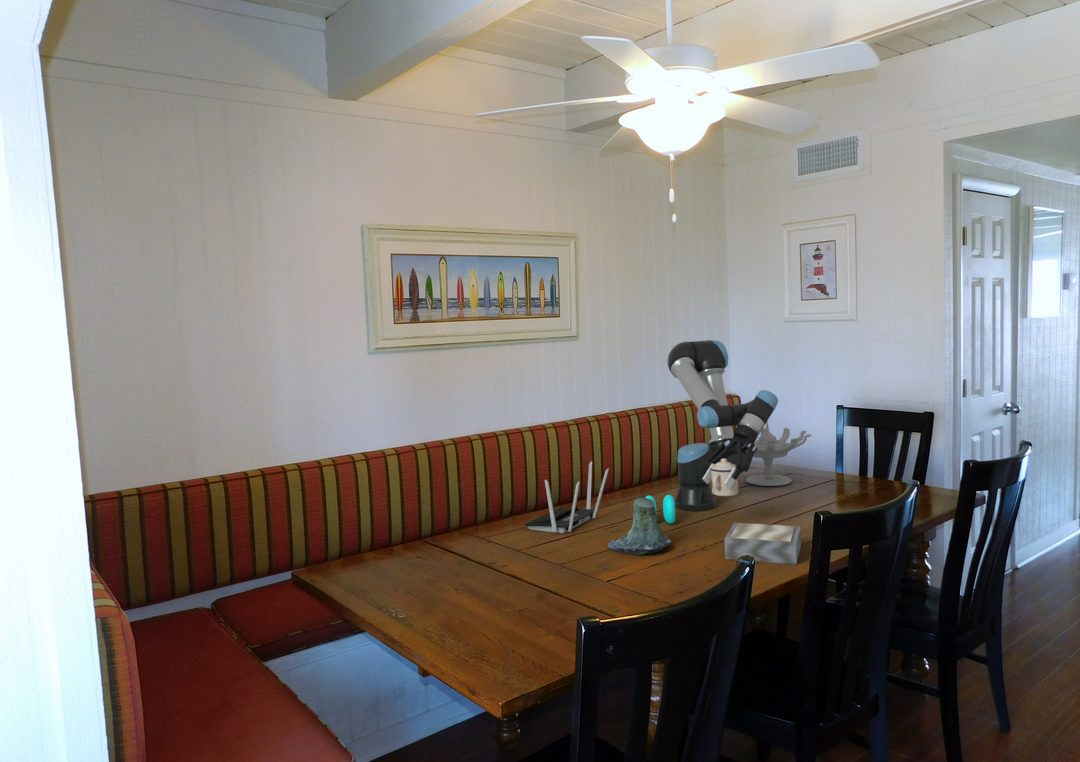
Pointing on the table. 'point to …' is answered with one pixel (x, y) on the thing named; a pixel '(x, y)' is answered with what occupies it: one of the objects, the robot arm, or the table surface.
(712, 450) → the robot arm
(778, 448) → the candelabra
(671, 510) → the donuts
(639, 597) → the table surface
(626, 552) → the tree stump
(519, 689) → the table surface
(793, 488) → the table surface
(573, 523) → the wireless router
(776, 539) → the serving riser
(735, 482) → the teacup with lid
